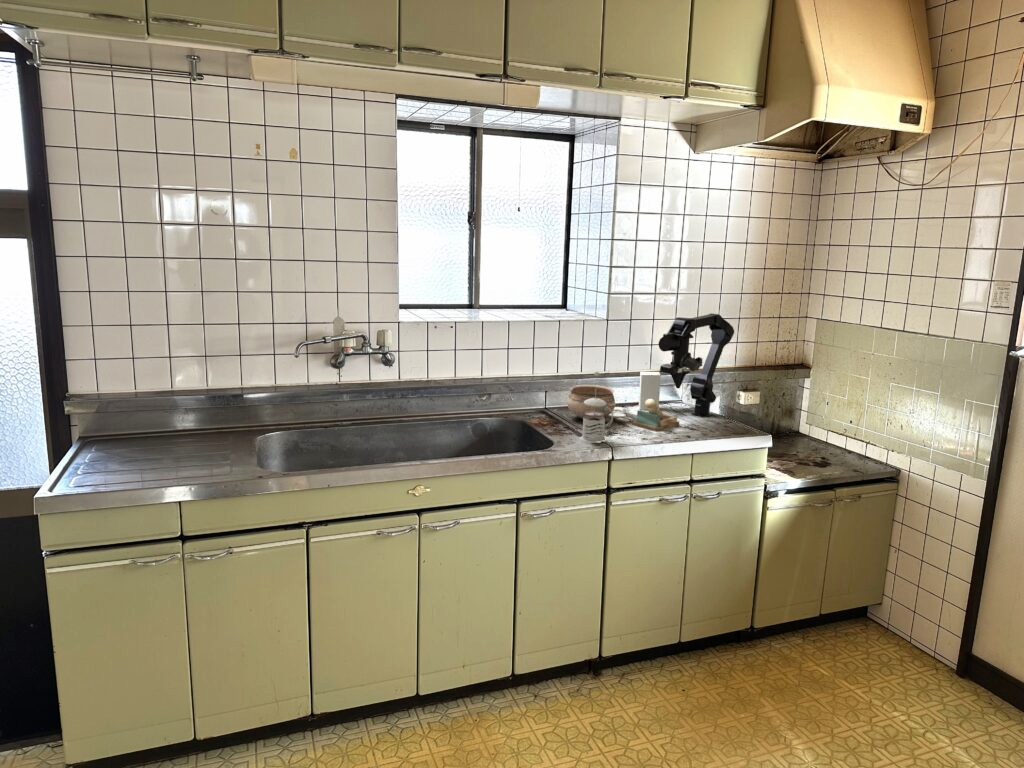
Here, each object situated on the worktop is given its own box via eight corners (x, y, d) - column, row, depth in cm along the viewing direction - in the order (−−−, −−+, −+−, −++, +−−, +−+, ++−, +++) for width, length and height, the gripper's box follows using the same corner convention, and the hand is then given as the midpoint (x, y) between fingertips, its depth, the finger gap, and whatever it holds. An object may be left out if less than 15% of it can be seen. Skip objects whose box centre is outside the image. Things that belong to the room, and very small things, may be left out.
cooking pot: (551, 416, 287) (552, 386, 284) (584, 409, 299) (586, 381, 296) (596, 430, 268) (598, 398, 266) (629, 422, 280) (631, 392, 277)
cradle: (656, 418, 287) (657, 405, 286) (679, 424, 279) (680, 410, 278) (632, 424, 277) (633, 410, 276) (655, 431, 269) (656, 416, 268)
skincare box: (657, 407, 307) (660, 371, 303) (658, 411, 300) (661, 374, 297) (637, 406, 308) (640, 370, 304) (638, 409, 301) (641, 373, 298)
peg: (657, 412, 281) (647, 397, 275) (665, 414, 278) (656, 399, 272) (652, 420, 280) (642, 406, 273) (660, 422, 277) (651, 408, 270)
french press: (577, 435, 260) (580, 368, 255) (608, 436, 261) (612, 369, 256) (581, 443, 251) (585, 374, 245) (614, 443, 251) (618, 374, 246)
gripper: (684, 354, 269) (681, 395, 272) (712, 350, 281) (708, 388, 285) (660, 350, 277) (657, 389, 280) (688, 346, 289) (684, 384, 293)
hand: (678, 388), depth 284 cm, fingers closed
